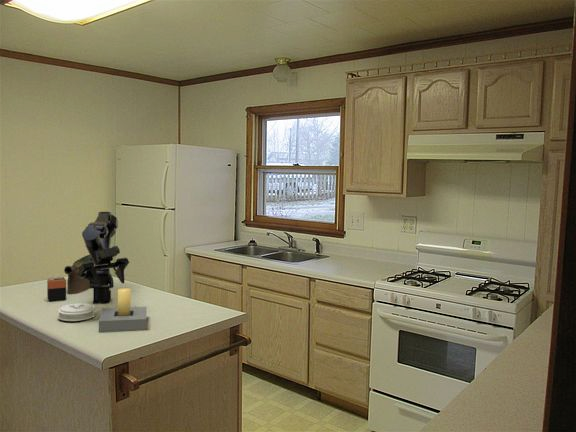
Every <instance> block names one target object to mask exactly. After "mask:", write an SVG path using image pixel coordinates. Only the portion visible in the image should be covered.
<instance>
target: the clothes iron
mask: <svg viewBox="0 0 576 432" xmlns="http://www.w3.org/2000/svg"><path fill="white" fill-rule="evenodd" d="M82 264H83V262H81V263H79V264H76V265H74V266H72V265H66V266H65V267H64V269H63V270H64V271H63V272H64V273H65V274H66V275H67V279H66V287H67V288H66V293H67V294H68V295H76V294H80V293H83V292H85V291H88V290H89V289H90V280H88V279H87V278H84V277H80V276H79V274H78V272H76V270H77V269H80V267H81V265H82Z"/></svg>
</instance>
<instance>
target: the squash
mask: <svg viewBox="0 0 576 432" xmlns="http://www.w3.org/2000/svg"><path fill="white" fill-rule="evenodd" d="M90 258H91V256H90V254H87V255H84V256H83V257H81V258H79V259H77V260H76V261H73V263H72V265H71V266H74V265H76V264H79V263H81V262H83V263H87V262H93V261H90ZM78 270H79V269H77V270H76V272H78Z"/></svg>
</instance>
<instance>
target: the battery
mask: <svg viewBox="0 0 576 432" xmlns="http://www.w3.org/2000/svg"><path fill="white" fill-rule="evenodd" d="M46 283H47V285H46V287H47V291H46V292H47V298H46V299H47V301H48V303H52V302H61V301H66V300H67V279H66V278H65V276H63V275H62V276H61V275H60V276H57V277H56V278H55V277H50V278H48V279H47V281H46Z"/></svg>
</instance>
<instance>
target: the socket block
mask: <svg viewBox="0 0 576 432" xmlns="http://www.w3.org/2000/svg"><path fill="white" fill-rule="evenodd" d="M147 310H148V309H147V306H132V307H131V306H130V316H118V307H105V308H104V307H103V308H102V310H101V312H100V316H99V319H98V333H108V332H109V333H112V332H130V331H147Z"/></svg>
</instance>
